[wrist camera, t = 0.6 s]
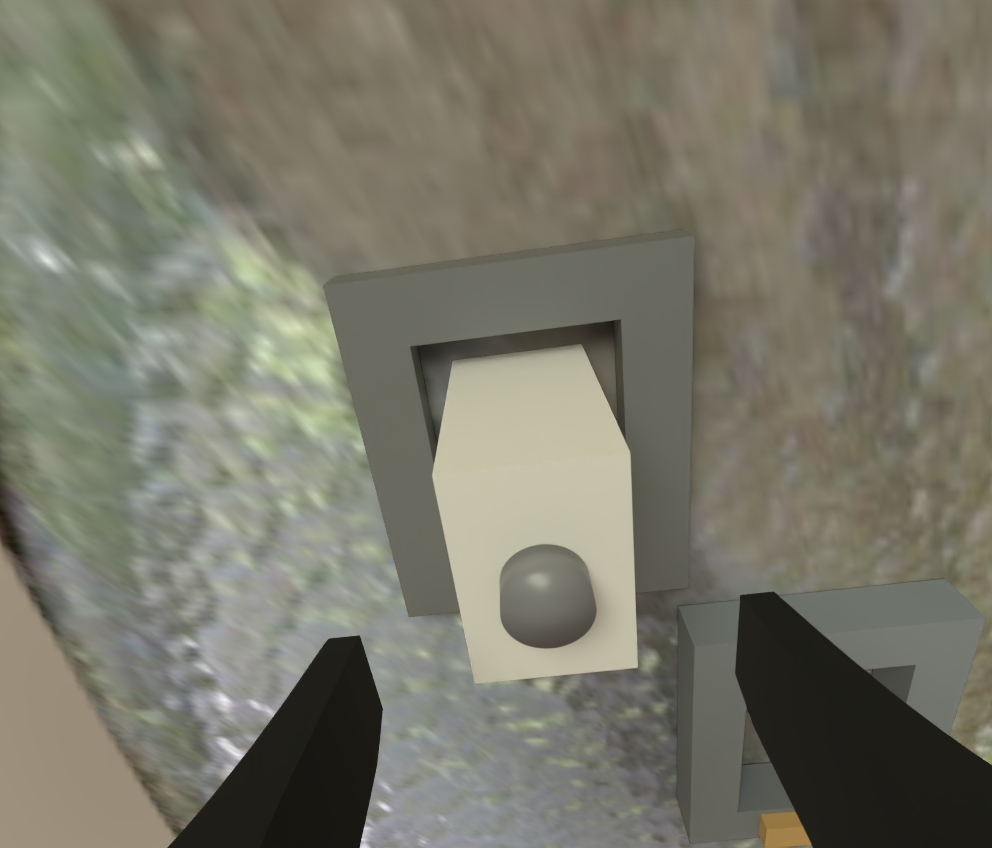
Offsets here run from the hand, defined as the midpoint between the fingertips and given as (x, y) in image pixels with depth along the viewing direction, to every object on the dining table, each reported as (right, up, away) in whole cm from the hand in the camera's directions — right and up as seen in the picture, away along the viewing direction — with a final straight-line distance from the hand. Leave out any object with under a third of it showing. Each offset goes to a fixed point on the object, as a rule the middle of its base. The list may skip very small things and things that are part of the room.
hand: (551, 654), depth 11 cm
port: (+12, -7, +14) cm, 19 cm away
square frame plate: (0, +4, +8) cm, 9 cm away
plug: (0, +4, +8) cm, 9 cm away
